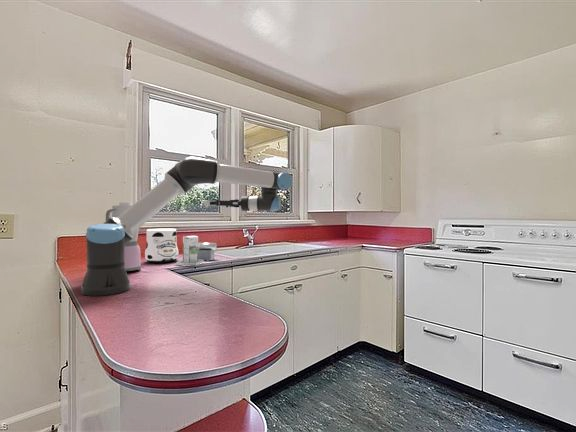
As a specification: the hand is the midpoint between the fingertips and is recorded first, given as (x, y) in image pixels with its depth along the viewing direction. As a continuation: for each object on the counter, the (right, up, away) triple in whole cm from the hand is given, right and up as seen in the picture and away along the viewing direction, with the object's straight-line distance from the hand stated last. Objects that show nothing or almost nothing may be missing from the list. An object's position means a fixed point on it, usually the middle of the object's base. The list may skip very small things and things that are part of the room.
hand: (208, 203), depth 162 cm
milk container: (-29, -32, +14) cm, 46 cm away
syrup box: (-11, -32, +6) cm, 34 cm away
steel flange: (-11, -32, +6) cm, 34 cm away
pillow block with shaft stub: (-7, -32, +19) cm, 38 cm away
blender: (-36, -33, -16) cm, 51 cm away
